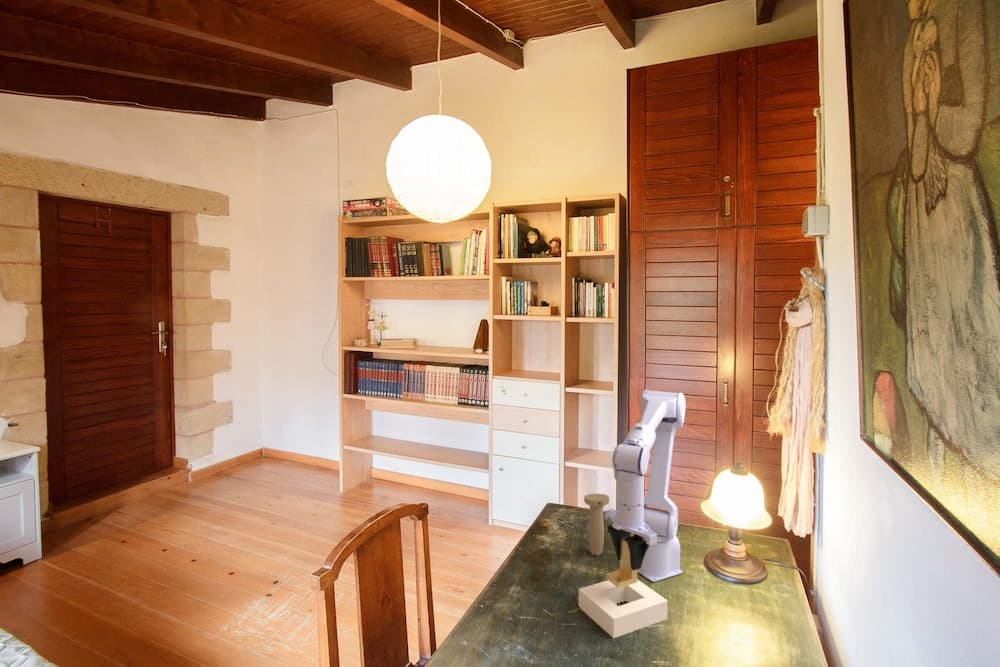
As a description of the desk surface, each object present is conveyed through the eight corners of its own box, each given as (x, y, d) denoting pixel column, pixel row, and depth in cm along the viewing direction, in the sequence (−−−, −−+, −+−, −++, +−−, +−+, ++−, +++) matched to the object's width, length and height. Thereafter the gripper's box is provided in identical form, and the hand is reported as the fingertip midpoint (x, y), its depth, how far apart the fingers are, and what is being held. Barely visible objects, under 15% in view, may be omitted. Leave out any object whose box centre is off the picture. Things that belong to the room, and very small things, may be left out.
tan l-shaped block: (624, 573, 116) (625, 536, 116) (637, 582, 113) (638, 544, 112) (606, 578, 114) (607, 541, 113) (618, 588, 110) (619, 549, 110)
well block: (629, 590, 122) (629, 573, 122) (667, 619, 112) (667, 600, 111) (578, 606, 116) (578, 588, 116) (613, 638, 105) (613, 618, 105)
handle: (611, 556, 138) (611, 500, 137) (586, 558, 137) (587, 501, 136) (605, 547, 143) (605, 493, 142) (581, 549, 142) (582, 494, 141)
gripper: (593, 493, 118) (593, 552, 119) (638, 517, 105) (637, 584, 106) (619, 487, 121) (618, 546, 122) (665, 511, 108) (664, 576, 109)
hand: (629, 563), depth 114 cm, fingers closed on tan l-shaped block, 4 cm apart
